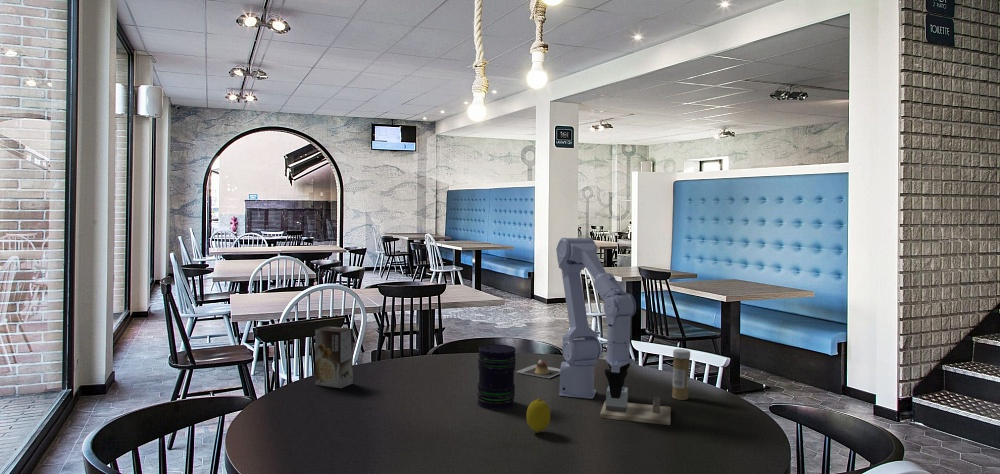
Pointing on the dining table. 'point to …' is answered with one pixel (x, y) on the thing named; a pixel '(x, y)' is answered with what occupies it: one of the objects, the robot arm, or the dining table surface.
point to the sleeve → (617, 401)
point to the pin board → (641, 413)
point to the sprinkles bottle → (681, 374)
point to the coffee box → (333, 356)
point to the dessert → (539, 369)
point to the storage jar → (496, 377)
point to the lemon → (538, 415)
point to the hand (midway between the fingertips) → (616, 393)
